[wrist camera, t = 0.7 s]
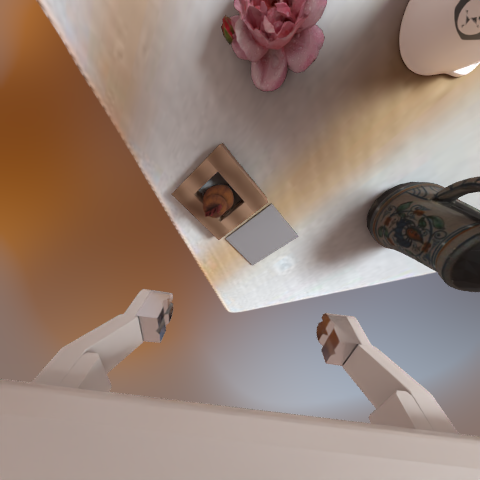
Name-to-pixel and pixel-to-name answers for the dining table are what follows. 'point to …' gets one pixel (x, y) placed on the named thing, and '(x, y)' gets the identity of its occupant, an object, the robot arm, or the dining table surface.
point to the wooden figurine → (217, 200)
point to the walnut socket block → (236, 179)
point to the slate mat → (262, 235)
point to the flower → (275, 37)
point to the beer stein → (432, 228)
